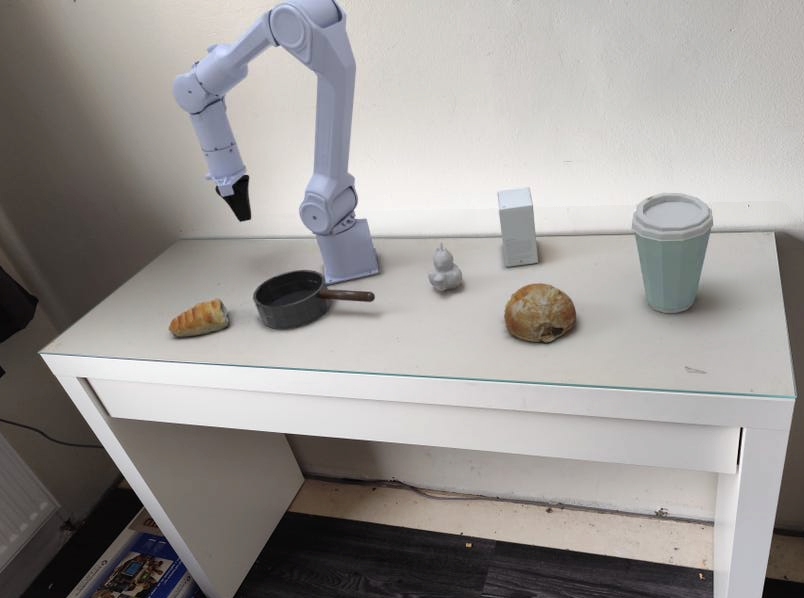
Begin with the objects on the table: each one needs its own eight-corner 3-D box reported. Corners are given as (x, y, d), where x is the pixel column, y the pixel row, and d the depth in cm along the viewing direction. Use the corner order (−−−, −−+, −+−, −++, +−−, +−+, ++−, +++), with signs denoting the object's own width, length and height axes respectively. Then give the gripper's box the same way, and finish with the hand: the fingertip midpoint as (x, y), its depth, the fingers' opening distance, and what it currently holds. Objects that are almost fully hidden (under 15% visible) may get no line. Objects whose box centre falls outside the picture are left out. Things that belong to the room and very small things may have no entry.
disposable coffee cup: (724, 303, 95) (734, 204, 86) (667, 332, 91) (672, 232, 83) (669, 276, 103) (673, 183, 94) (615, 302, 99) (614, 208, 90)
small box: (538, 264, 112) (533, 205, 106) (505, 268, 112) (498, 209, 106) (535, 242, 118) (530, 186, 112) (503, 246, 119) (497, 190, 113)
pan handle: (317, 300, 107) (315, 292, 106) (322, 295, 108) (320, 286, 107) (373, 304, 104) (371, 295, 103) (377, 298, 105) (375, 290, 104)
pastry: (172, 345, 107) (163, 325, 105) (172, 326, 113) (163, 306, 111) (231, 327, 109) (223, 307, 107) (228, 309, 115) (220, 290, 113)
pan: (330, 285, 116) (324, 264, 114) (332, 319, 107) (325, 297, 104) (263, 299, 116) (255, 278, 113) (258, 336, 106) (250, 313, 104)
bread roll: (523, 367, 96) (532, 336, 89) (488, 314, 100) (494, 280, 93) (580, 341, 98) (593, 310, 92) (544, 291, 103) (553, 257, 96)
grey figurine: (468, 278, 111) (461, 235, 107) (456, 299, 106) (449, 255, 102) (437, 278, 113) (429, 235, 108) (425, 298, 108) (416, 254, 103)
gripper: (201, 137, 119) (227, 208, 127) (189, 163, 107) (219, 240, 115) (240, 130, 120) (264, 201, 128) (232, 155, 108) (259, 231, 116)
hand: (245, 219), depth 121 cm, fingers closed
